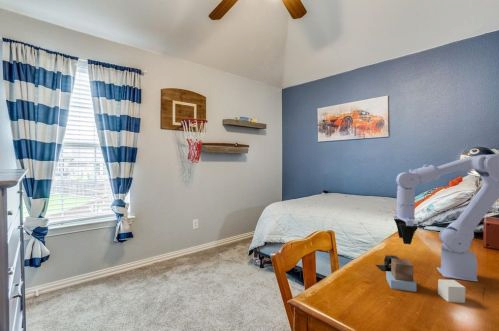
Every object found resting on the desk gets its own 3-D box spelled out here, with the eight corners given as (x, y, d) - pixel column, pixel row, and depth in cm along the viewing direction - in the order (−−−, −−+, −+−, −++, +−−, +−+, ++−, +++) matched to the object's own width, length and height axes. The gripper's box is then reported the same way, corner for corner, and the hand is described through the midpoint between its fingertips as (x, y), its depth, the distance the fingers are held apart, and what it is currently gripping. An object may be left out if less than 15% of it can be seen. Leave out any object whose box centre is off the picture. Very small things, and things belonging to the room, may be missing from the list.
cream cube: (453, 294, 77) (454, 279, 77) (465, 303, 73) (465, 287, 73) (437, 294, 78) (438, 279, 77) (448, 302, 73) (448, 286, 73)
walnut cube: (407, 274, 85) (408, 259, 84) (413, 281, 80) (413, 265, 80) (391, 272, 86) (391, 258, 86) (395, 279, 81) (395, 263, 81)
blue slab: (409, 282, 85) (409, 273, 85) (416, 293, 79) (416, 283, 79) (386, 279, 87) (386, 271, 87) (390, 289, 81) (391, 280, 81)
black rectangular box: (378, 273, 93) (378, 260, 93) (369, 265, 100) (369, 252, 100) (416, 274, 92) (416, 261, 92) (404, 265, 99) (404, 253, 99)
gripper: (390, 200, 103) (389, 234, 104) (397, 206, 90) (396, 245, 90) (410, 202, 101) (409, 236, 101) (420, 208, 87) (419, 247, 88)
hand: (404, 240), depth 96 cm, fingers open, 7 cm apart
